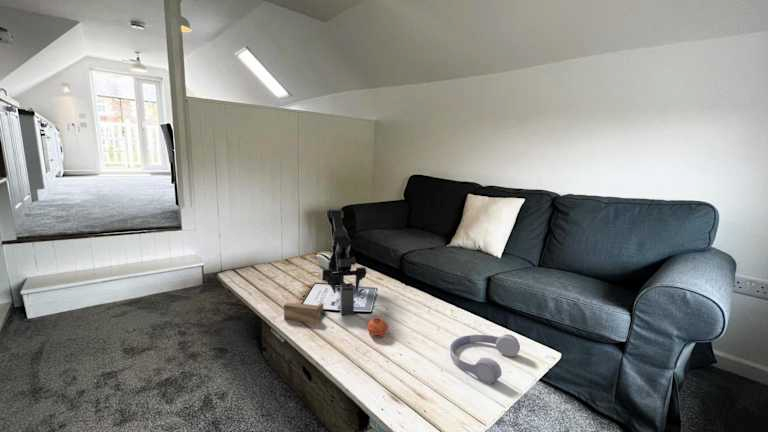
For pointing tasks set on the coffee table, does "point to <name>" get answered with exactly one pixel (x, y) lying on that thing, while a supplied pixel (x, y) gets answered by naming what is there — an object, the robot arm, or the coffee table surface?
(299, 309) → the brown wooden frame
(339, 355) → the coffee table surface
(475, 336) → the headphones
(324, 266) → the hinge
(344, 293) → the stepped grey pillar
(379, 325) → the pot
